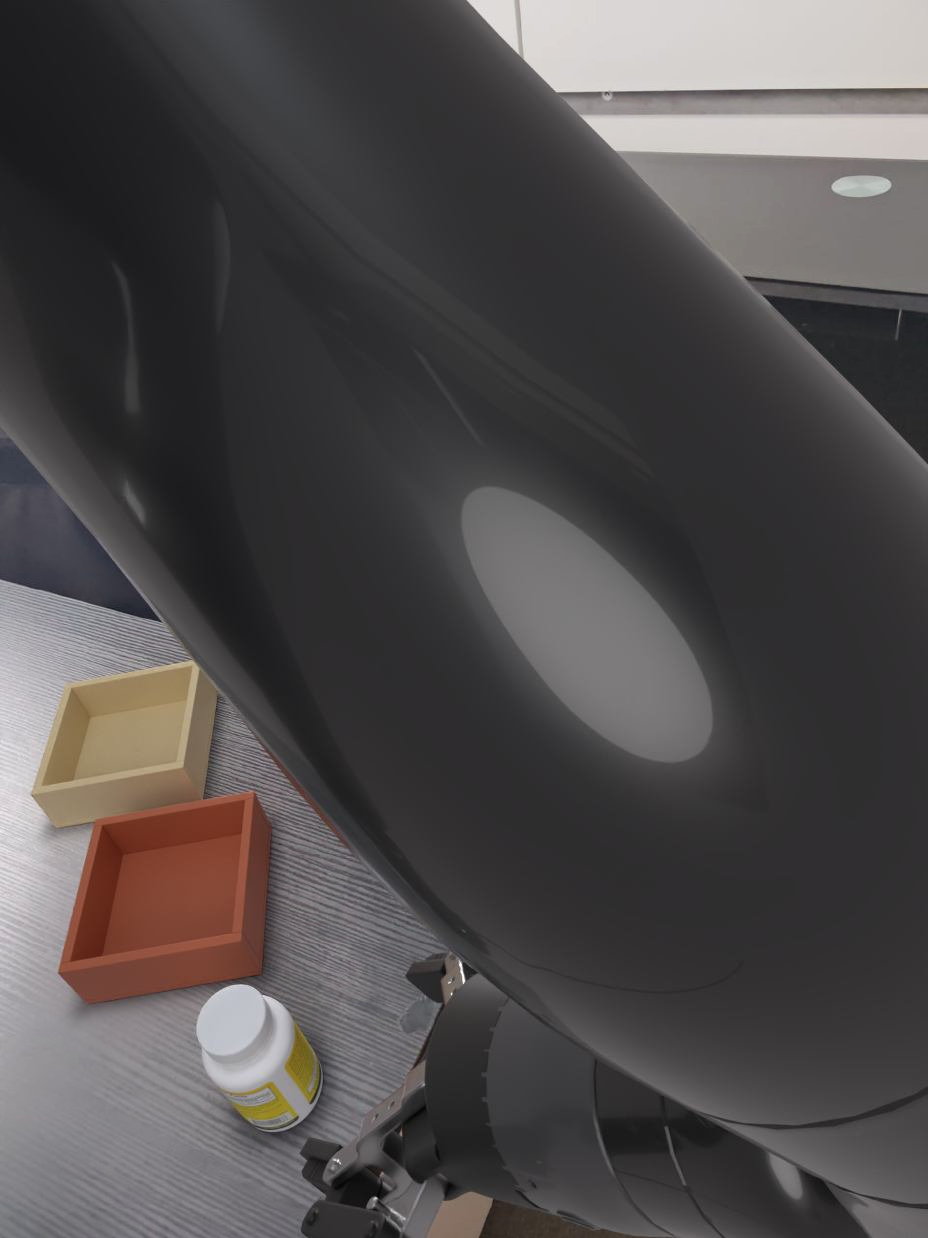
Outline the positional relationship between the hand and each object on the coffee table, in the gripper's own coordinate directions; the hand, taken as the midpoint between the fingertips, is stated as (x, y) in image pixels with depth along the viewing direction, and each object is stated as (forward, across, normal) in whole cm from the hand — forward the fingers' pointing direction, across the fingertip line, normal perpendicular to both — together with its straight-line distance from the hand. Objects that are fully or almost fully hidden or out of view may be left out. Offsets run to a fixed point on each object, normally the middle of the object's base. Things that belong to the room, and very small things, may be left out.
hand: (374, 1066), depth 42 cm
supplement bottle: (+19, 0, +3) cm, 20 cm away
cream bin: (+40, -17, -17) cm, 46 cm away
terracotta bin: (+30, -7, -7) cm, 31 cm away
